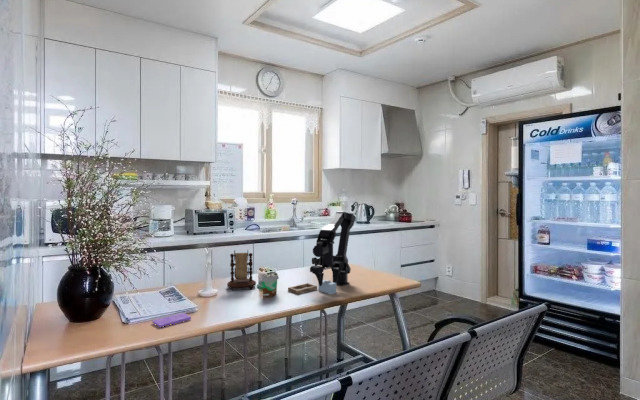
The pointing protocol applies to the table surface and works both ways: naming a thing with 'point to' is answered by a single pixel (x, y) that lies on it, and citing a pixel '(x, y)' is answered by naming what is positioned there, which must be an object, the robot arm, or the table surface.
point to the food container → (270, 284)
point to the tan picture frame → (302, 288)
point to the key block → (328, 287)
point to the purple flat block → (171, 319)
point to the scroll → (241, 271)
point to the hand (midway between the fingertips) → (327, 284)
